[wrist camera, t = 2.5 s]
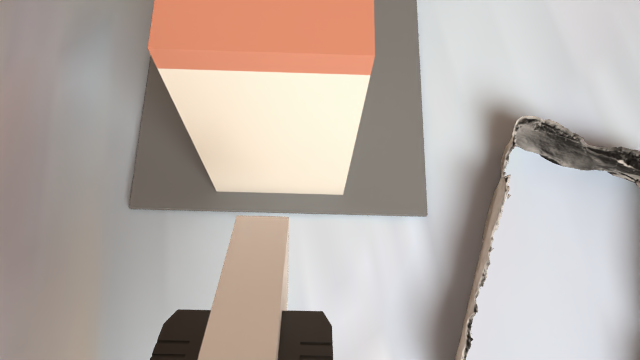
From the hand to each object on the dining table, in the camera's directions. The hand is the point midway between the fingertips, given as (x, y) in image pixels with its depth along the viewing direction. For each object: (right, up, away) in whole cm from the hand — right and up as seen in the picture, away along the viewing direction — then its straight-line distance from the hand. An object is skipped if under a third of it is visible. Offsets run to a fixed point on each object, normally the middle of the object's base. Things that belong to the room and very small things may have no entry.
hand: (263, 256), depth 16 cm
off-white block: (0, +5, +11) cm, 11 cm away
